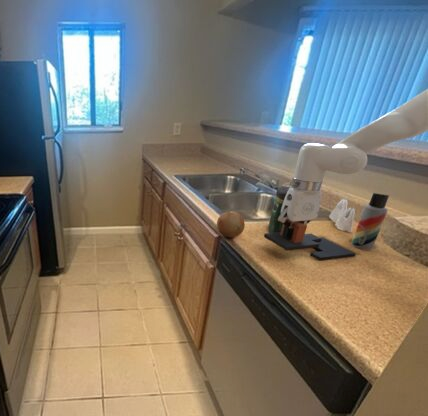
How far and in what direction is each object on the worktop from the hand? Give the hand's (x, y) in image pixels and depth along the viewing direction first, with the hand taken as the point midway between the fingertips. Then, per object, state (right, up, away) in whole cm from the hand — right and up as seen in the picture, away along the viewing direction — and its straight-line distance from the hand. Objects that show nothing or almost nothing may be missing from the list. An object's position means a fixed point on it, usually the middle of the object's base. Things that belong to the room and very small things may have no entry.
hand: (291, 237), depth 92 cm
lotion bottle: (+29, -4, +6) cm, 30 cm away
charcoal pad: (+13, -5, +4) cm, 15 cm away
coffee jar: (+7, 0, +17) cm, 18 cm away
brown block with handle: (+2, -2, +1) cm, 3 cm away
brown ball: (-14, -1, +15) cm, 21 cm away
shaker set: (+35, +2, +22) cm, 42 cm away
